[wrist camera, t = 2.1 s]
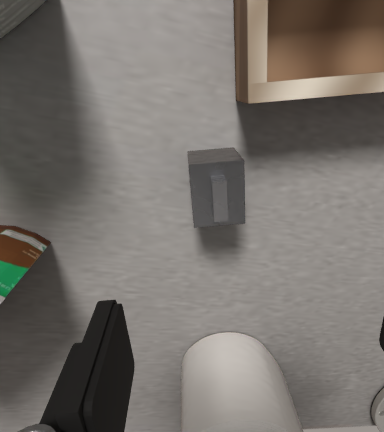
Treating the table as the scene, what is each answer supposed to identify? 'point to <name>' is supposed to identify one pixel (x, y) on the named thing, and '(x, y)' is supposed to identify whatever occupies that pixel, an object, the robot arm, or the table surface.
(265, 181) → the table surface
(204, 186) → the grey ridged block
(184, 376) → the toilet tissue
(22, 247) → the food container
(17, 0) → the skincare box
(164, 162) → the table surface
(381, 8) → the open wooden box
